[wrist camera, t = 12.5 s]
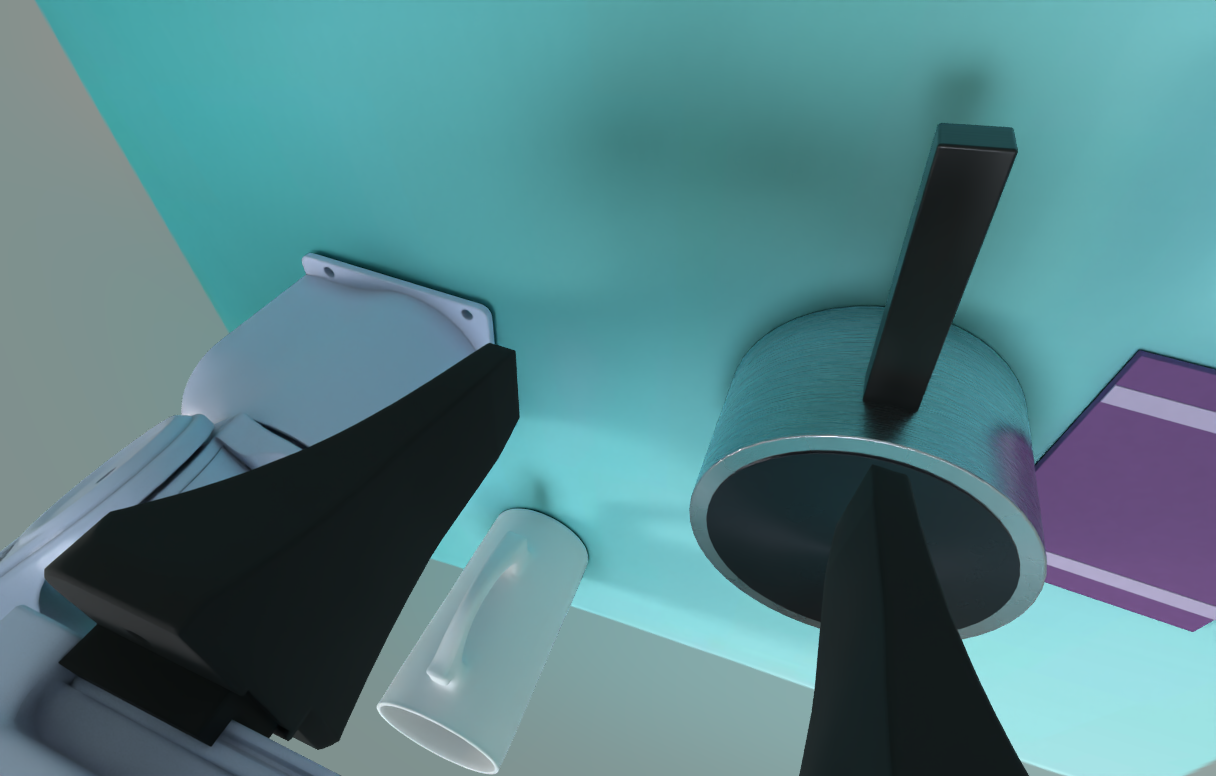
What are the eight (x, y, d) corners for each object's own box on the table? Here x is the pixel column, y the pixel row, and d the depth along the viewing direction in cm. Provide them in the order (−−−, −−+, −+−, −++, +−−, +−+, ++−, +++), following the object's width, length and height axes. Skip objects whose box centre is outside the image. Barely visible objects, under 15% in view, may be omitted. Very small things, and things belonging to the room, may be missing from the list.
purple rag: (960, 547, 26) (960, 554, 25) (1138, 349, 18) (1141, 357, 18) (1191, 625, 24) (1193, 633, 24) (1504, 442, 16) (1511, 452, 16)
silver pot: (723, 472, 28) (685, 589, 24) (761, 63, 16) (701, 155, 12) (970, 533, 25) (975, 679, 21) (1229, 82, 13) (1352, 212, 9)
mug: (590, 586, 40) (501, 786, 32) (497, 548, 41) (389, 732, 33) (600, 497, 33) (489, 727, 25) (487, 455, 34) (347, 660, 26)
